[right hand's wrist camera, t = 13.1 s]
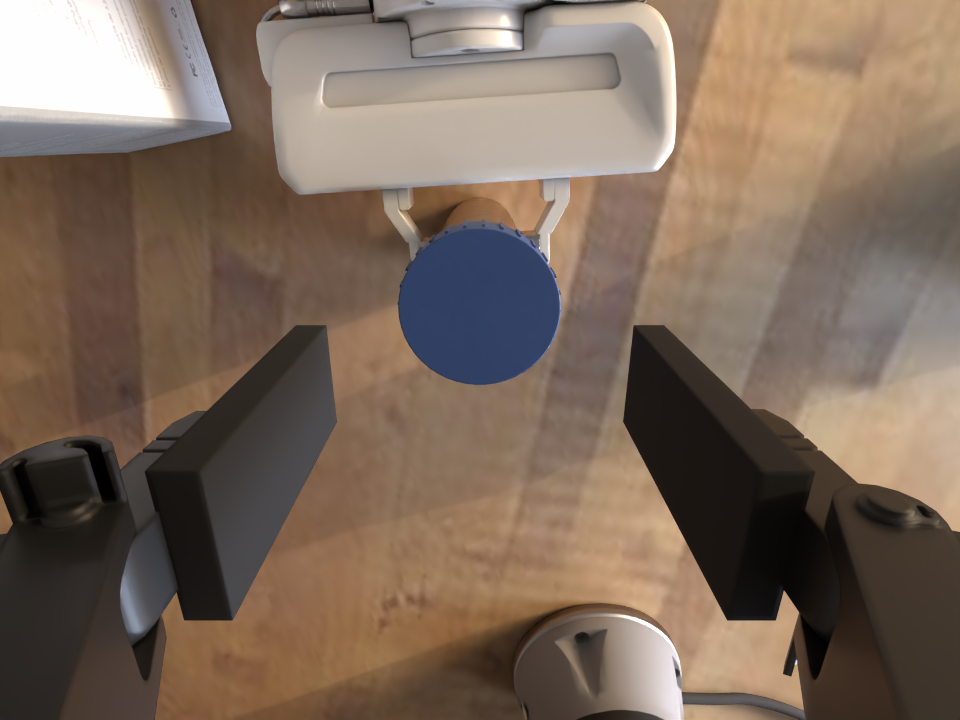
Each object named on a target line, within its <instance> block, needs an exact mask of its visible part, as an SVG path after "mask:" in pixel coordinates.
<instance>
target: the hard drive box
mask: <svg viewBox="0 0 960 720" xmlns="http://www.w3.org/2000/svg"><path fill="white" fill-rule="evenodd" d="M230 130H231V124H230V121H229V118H228V115H227V112H226V109H225V106H224V103H223V100H222V97H221V94H220V91H219V88H218V84H217V81H216V77H215V74H214V71H213V68H212V65H211V62H210V59H209V56H208V53H207V50H206V47H205V45H204V42H203V39H202V36H201V33H200V29H199V27H198V24H197V20H196V17H195V14H194V11H193V8H192V4H191V1H190V0H0V157H12V156H36V155H59V154H82V153H117V152H132V151H137V150H142V149H147V148H152V147H157V146H162V145H167V144H172V143H177V142H181V141H186V140H191V139H195V138H200V137H205V136H209V135H214V134H218V133H222V132H226V131H230Z"/></svg>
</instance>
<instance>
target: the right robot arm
mask: <svg viewBox="0 0 960 720" xmlns="http://www.w3.org/2000/svg"><path fill="white" fill-rule="evenodd" d="M336 422H337V420H336V411H335V402H334V392H333V383H332V374H331V365H330V356H329V347H328V338H327V329H326V325H296V326H295V327H294V328H293V329H292V330H291V331H290V332H289V333H288V334H287V335H286V336H284V337H283V338H282V339H281V340H280V341H279V342H278V343H277V344H276V345H275V346H274V347H273V348H272V349H271V350H270V351H269V352H268V353H267V354H266V355H265V356H264V357H263V358H262V359H261V360H260V361H259V362H257V363H256V364H255V365H254V366H253V367H252V368H251V369H250V370H249V371H248V372H247V373H246V374H245V375H244V376H243V377H242V378H241V379H240V380H239V381H238V382H237V383H236V384H235V385H234V386H233V387H231V388H230V389H229V390H228V391H227V392H226V393H225V394H224V395H223V396H222V397H221V398H220V399H219V400H218V401H217V402H216V403H215V404H214V405H213V406H212V407H211V408H210V409H209V410H208V411H196V412H194V413H192V414H190V415H188V416H186V417H184V418H182V419H180V420H178V421H176V422H174V423H172V424H171V425H170V426H169V427H168V428H167V429H165V430H164V431H163V432H162V433H161V434H160V435H159V436H158V437H156V440H153V441H152V442H151V443H150V444H149V445H148V446H146V447H145V448H144V449H143V453H139V454H137V455H136V456H135V457H134V458H133V459H132V460H131V461H130V462H128V463H127V464H126V465H125V466H124V467H123V468H122V469H121V470H120V468H119V465H118V461H117V458H116V454H115V451H114V447H113V444H112V442H111V441H109V440H107V439H106V438H104V437H96V436H78V437H68V438H63V439H59V440H54V441H50V442H46V443H43V444H40V445H37V446H35V447H32V448H29V449H26V450H23V451H22V452H20V453H18V454H16V455H14V456H12V457H10V458H8V459H7V460H5V461H4V462H2V463H1V464H0V491H1V494H2V496H3V499H4V501H5V504H6V507H7V509H8V512H9V514H10V517H11V520H12V522H13V525H12V526H11V528H10V530H9V531H8V533H7V534H2V535H0V720H155V714H156V707H157V700H158V693H159V686H160V679H161V672H162V665H163V659H164V652H165V645H166V638H167V637H166V631H165V625H164V622H163V618H162V615H161V614H162V613H163V611H164V610H165V608H166V607H167V605H168V604H169V602H170V601H171V599H172V598H173V596H174V595H175V594H176V592H177V595H178V599H179V603H180V606H181V610H182V614H183V618H184V620H233V619H234V617H235V615H236V613H237V611H238V609H239V607H240V606H241V604H242V602H243V600H244V598H245V596H246V594H247V592H248V590H249V588H250V586H251V585H252V583H253V581H254V579H255V577H256V575H257V573H258V571H259V569H260V567H261V565H262V564H263V562H264V560H265V558H266V556H267V554H268V552H269V550H270V548H271V546H272V544H273V543H274V541H275V539H276V537H277V535H278V533H279V531H280V529H281V527H282V525H283V523H284V522H285V520H286V518H287V516H288V514H289V512H290V510H291V508H292V506H293V504H294V502H295V501H296V499H297V497H298V495H299V493H300V491H301V489H302V487H303V485H304V483H305V481H306V480H307V478H308V476H309V474H310V472H311V470H312V468H313V466H314V464H315V462H316V460H317V459H318V457H319V455H320V453H321V451H322V449H323V447H324V445H325V443H326V441H327V439H328V438H329V436H330V434H331V432H332V430H333V428H334V426H335V424H336ZM623 422H624V424H625V426H626V428H627V430H628V432H629V434H630V436H631V438H632V439H633V441H634V443H635V445H636V447H637V449H638V451H639V453H640V455H641V457H642V459H643V460H644V462H645V464H646V466H647V468H648V470H649V472H650V474H651V476H652V478H653V480H654V481H655V483H656V485H657V487H658V489H659V491H660V493H661V495H662V497H663V499H664V501H665V502H666V504H667V506H668V508H669V510H670V512H671V514H672V516H673V518H674V520H675V522H676V523H677V525H678V527H679V529H680V531H681V533H682V535H683V537H684V539H685V541H686V543H687V544H688V546H689V548H690V550H691V552H692V554H693V556H694V558H695V560H696V562H697V564H698V565H699V567H700V569H701V571H702V573H703V575H704V577H705V579H706V581H707V583H708V585H709V586H710V588H711V590H712V592H713V594H714V596H715V598H716V600H717V602H718V604H719V606H720V607H721V609H722V611H723V613H724V615H725V617H726V619H727V620H776V618H777V614H778V610H779V606H780V603H781V599H782V595H783V591H785V592H786V594H787V595H788V596H789V598H790V599H791V601H792V602H793V604H794V605H795V607H796V608H797V610H798V611H799V615H798V618H797V622H796V625H795V629H794V632H793V636H792V639H791V643H790V646H789V650H788V653H787V657H786V660H785V665H784V671H783V674H785V675H788V676H792V672H793V669H794V665H795V664H798V671H799V678H800V684H801V691H802V698H803V705H804V711H803V710H800V709H798V708H795V707H793V706H790V705H788V704H785V703H782V702H779V701H776V700H773V699H769V698H766V697H762V696H757V695H752V694H746V693H686V692H681V689H682V673H681V667H680V662H679V658H678V655H677V653H676V650H675V647H674V645H673V642H672V640H671V638H670V636H669V635H668V633H667V632H666V630H665V629H664V628H663V627H662V626H661V625H660V624H659V623H658V622H657V621H655V620H654V619H653V618H651V617H650V616H648V615H646V614H644V613H642V612H640V611H638V610H635V609H632V608H629V607H625V606H620V605H614V604H587V605H580V606H575V607H571V608H568V609H565V610H562V611H559V612H557V613H555V614H553V615H550V616H549V617H547V618H545V619H543V620H542V621H541V622H539V623H538V624H536V625H535V626H534V627H533V628H532V629H531V630H530V631H529V632H528V633H527V634H526V635H525V636H524V638H523V639H522V641H521V642H520V644H519V646H518V648H517V650H516V653H515V656H514V661H513V674H514V687H515V691H516V695H517V699H518V702H519V705H520V707H521V709H522V711H523V715H524V720H683V704H700V705H726V704H746V705H753V706H758V707H762V708H767V709H770V710H774V711H777V712H780V713H783V714H786V715H789V716H791V717H794V718H796V719H799V720H960V532H956V531H952V530H951V529H950V527H949V525H948V524H947V522H946V521H945V520H944V519H943V518H942V517H941V516H940V515H939V514H938V513H937V512H936V511H935V510H934V509H932V508H930V507H929V506H927V505H926V504H924V503H923V502H921V501H919V500H917V499H915V498H913V497H910V496H908V495H906V494H903V493H901V492H899V491H896V490H892V489H888V488H884V487H881V486H877V485H868V484H858V483H857V482H856V481H855V480H854V479H853V478H851V477H850V476H849V475H848V474H847V473H846V472H845V471H843V470H842V469H841V468H840V467H839V466H838V465H837V464H836V463H834V462H833V461H832V460H831V459H830V458H829V457H828V456H827V455H825V454H824V453H823V452H822V451H818V449H817V448H818V447H816V446H815V445H814V444H813V443H812V442H811V441H810V440H809V439H807V438H804V435H803V434H802V433H801V432H799V431H798V430H797V429H796V428H795V427H794V426H793V425H792V424H790V423H789V422H788V421H786V420H784V419H782V418H780V417H778V416H776V415H774V414H772V413H770V412H769V411H767V410H765V409H750V408H749V407H748V406H747V405H746V404H745V403H744V402H743V401H742V400H741V399H740V398H739V397H738V396H737V395H736V394H735V393H734V392H733V391H732V390H731V389H730V388H729V387H727V386H726V385H725V384H724V383H723V382H722V381H721V380H720V379H719V378H718V377H717V376H716V375H715V374H714V373H713V372H712V371H711V370H710V369H709V368H708V367H707V366H706V365H705V364H704V363H703V362H701V361H700V360H699V359H698V358H697V357H696V356H695V355H694V354H693V353H692V352H691V351H690V350H689V349H688V348H687V347H686V346H685V345H684V344H683V343H682V342H681V341H680V340H679V339H678V338H677V337H676V336H674V335H673V334H672V333H671V332H670V331H669V330H668V329H667V328H666V327H665V326H664V325H634V329H633V338H632V347H631V356H630V365H629V374H628V383H627V392H626V402H625V411H624V420H623Z"/></svg>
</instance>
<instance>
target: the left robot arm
mask: <svg viewBox="0 0 960 720" xmlns="http://www.w3.org/2000/svg"><path fill="white" fill-rule="evenodd" d="M646 1H647V0H279V4H276V5H274V6H272V7H270V8H269V9H268V10H267V11H266V12H265V13H264V14H263V16H262V17H261V19H260V21H259V24H258V26H257V31H256V40H257V46H258V51H259V56H260V62H261V67H262V72H263V75H264V77H265V80H266V82H267V83H268V85H269V86H270V88H271V97H272V120H273V133H274V143H275V152H276V159H277V166H278V171H279V174H280V176H281V178H282V179H283V180H284V181H285V182H286V183H287V185H288V186H289V187H290V188H291V189H292V190H293V191H295V192H296V193H297V194H300V195H304V194H320V193H336V192H351V191H366V190H382V196H383V204H384V212H385V214H386V215H387V216H388V218H389V219H390V221H391V222H392V223H393V225H394V226H395V227H396V229H397V230H398V232H399V233H400V234H401V236H402V237H403V239H404V240H405V241H406V243H409V250H410V259H411V260H412V261H413V260H414V258H415V257H416V255H415V254H416V252H417V251H418V249H419V247H420V246H422V247H423V246H424V245H425V244H426V243H427V242H428V241H429V240H430V238H431V237H423V235H422V233H421V232H420V230H419V229H418V227H417V226H416V224H415V223H414V221H413V220H412V218H411V217H410V215H409V214H408V212H407V211H406V210H409V209H410V208H411V207H412V206H413V205H414V196H413V187H428V186H443V185H458V184H474V183H489V182H504V181H520V180H535V179H539V193H540V197H541V198H542V199H543V200H545V201H548V203H547V205H546V207H545V209H544V211H543V213H542V215H541V217H540V219H539V221H538V223H537V225H536V227H535V229H534V230H529V231H520V233H521V234H522V235H524V236H525V237H526V238H528V239H529V240H531V239H532V240H533V241H534V243H535V245H536V246H537V248H538V250H539V251H540V252H541V253H542V252H543V253H544V254H545V256H546V258H547V259H548V262H547V264H548V265H549V234H551V233H552V231H553V230H554V228H555V226H556V224H557V222H558V221H559V219H560V217H561V215H562V213H563V211H564V210H565V208H566V206H567V204H568V202H569V201H570V177H581V176H596V175H612V174H627V173H642V172H654V171H657V170H658V169H659V168H660V167H661V166H662V165H663V164H664V162H665V161H666V160H667V158H668V157H669V156H670V154H671V153H672V151H673V148H674V143H675V132H676V78H675V63H674V51H673V43H672V38H671V34H670V31H669V28H668V26H667V24H666V22H665V20H664V18H663V17H662V15H661V14H660V13H659V12H658V11H657V10H656V9H654V8H653V7H652V6H650V5H648V4H645V2H646ZM373 11H374V15H373ZM279 14H282V16H283V17H284V18H285V19H287V20H273V21H271V20H272V19H273V18H274V17H276V16H277V15H279ZM320 16H321V17H320ZM322 16H327V17H322ZM374 16H375V17H374ZM312 17H314V18H312ZM375 22H376V23H375Z"/></svg>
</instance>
